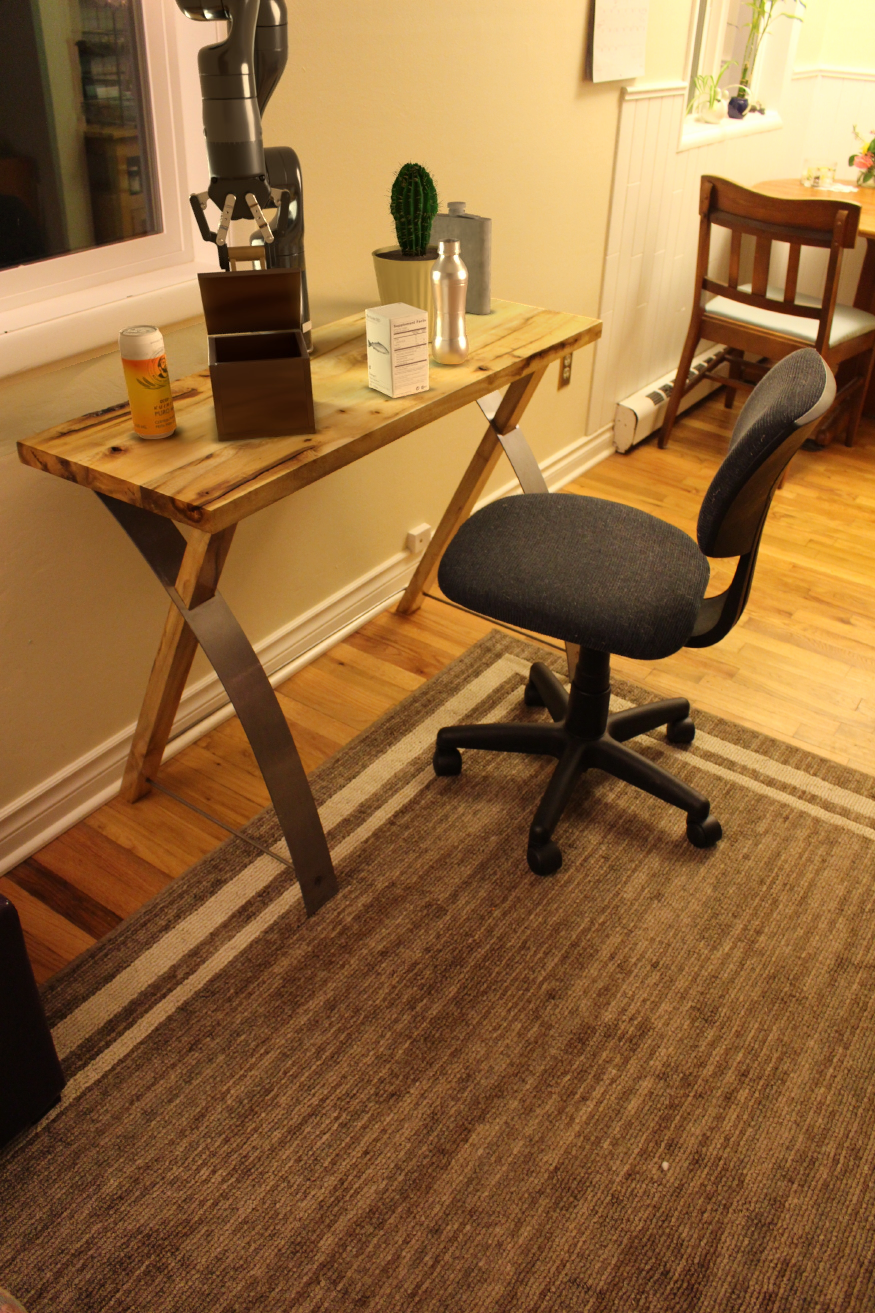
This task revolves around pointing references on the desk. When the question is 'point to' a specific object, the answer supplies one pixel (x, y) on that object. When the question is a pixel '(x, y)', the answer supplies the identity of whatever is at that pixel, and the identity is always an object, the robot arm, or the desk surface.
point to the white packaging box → (397, 349)
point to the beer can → (147, 381)
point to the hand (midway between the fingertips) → (248, 270)
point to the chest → (261, 385)
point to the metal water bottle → (449, 304)
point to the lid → (250, 296)
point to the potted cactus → (410, 243)
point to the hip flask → (469, 251)
